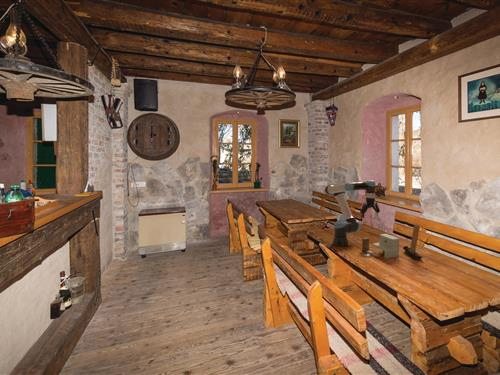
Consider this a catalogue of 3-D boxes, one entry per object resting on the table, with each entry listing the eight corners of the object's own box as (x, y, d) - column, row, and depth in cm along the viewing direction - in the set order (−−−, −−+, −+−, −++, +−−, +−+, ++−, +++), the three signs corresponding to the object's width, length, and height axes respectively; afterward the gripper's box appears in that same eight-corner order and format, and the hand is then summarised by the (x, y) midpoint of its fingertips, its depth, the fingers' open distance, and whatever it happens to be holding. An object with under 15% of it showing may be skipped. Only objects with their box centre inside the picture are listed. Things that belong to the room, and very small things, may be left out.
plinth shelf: (372, 252, 246) (372, 235, 244) (384, 250, 250) (385, 233, 248) (385, 258, 230) (386, 240, 228) (398, 256, 234) (399, 238, 233)
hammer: (422, 262, 225) (428, 230, 216) (416, 262, 225) (422, 230, 216) (408, 250, 244) (413, 219, 235) (402, 250, 244) (407, 220, 235)
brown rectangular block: (362, 250, 251) (362, 237, 249) (365, 249, 252) (366, 237, 250) (376, 257, 234) (377, 243, 232) (380, 256, 235) (380, 243, 233)
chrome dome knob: (362, 255, 240) (362, 253, 240) (368, 254, 241) (368, 253, 241) (365, 257, 234) (365, 256, 234) (372, 257, 235) (372, 255, 235)
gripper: (361, 199, 237) (361, 222, 240) (384, 196, 245) (383, 219, 247) (356, 197, 244) (355, 220, 247) (378, 195, 252) (377, 217, 254)
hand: (369, 220), depth 247 cm, fingers open, 13 cm apart
